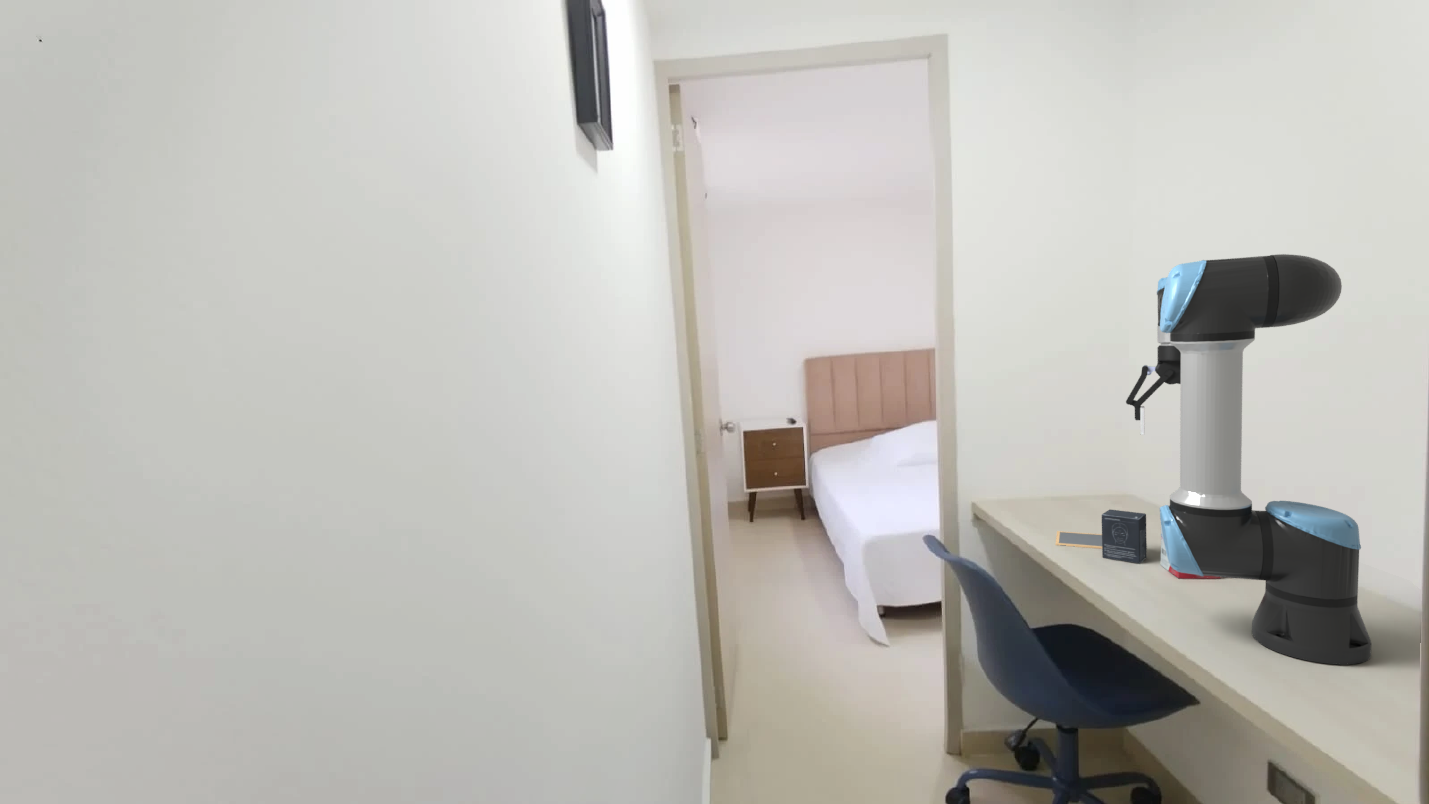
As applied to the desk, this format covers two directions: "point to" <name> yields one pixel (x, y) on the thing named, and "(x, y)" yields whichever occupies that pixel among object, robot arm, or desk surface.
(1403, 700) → the desk surface
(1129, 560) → the box
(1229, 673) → the desk surface
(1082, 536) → the mat
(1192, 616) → the desk surface
